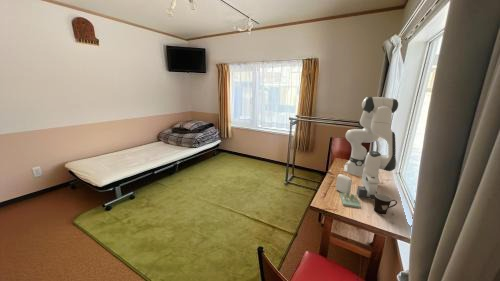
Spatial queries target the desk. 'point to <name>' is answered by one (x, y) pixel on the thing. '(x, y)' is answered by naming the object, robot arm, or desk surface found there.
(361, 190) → the block
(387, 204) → the coffee mug
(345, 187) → the photo printer
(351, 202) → the board
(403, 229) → the desk surface
